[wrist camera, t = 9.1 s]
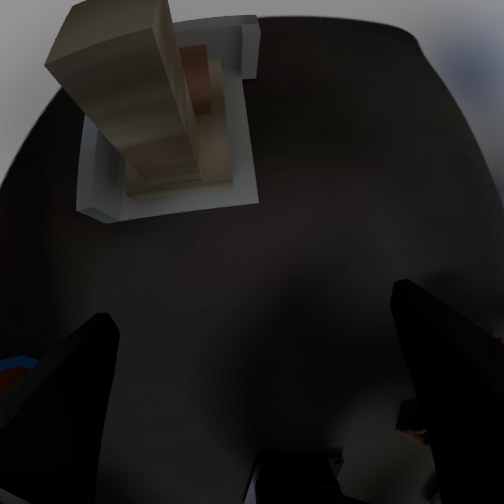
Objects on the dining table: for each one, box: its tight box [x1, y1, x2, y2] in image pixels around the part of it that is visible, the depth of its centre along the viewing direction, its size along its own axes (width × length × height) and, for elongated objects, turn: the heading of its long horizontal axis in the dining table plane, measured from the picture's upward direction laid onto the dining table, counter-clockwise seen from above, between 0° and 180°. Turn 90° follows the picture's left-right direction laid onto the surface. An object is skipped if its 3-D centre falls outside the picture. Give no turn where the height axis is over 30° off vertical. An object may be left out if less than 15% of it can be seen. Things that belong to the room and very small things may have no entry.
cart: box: [44, 0, 233, 201], centre depth 11 cm, size 9×6×13 cm, turn 7°
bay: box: [76, 15, 261, 224], centre depth 15 cm, size 12×11×5 cm
